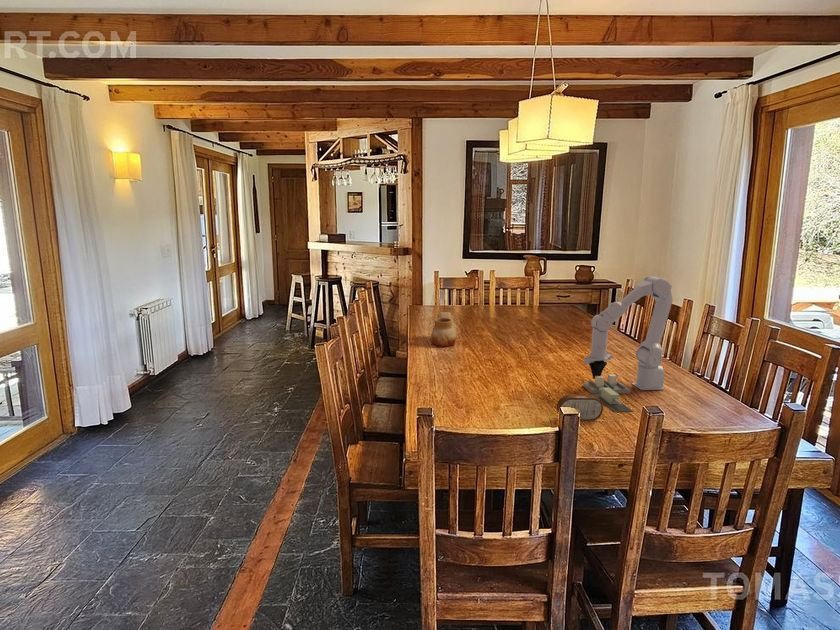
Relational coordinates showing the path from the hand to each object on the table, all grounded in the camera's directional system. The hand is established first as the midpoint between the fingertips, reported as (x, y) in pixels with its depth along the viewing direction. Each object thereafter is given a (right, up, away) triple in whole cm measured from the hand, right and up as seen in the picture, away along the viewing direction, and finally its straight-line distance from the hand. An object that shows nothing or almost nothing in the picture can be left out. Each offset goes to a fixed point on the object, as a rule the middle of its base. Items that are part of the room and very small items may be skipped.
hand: (596, 378), depth 204 cm
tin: (-17, -10, -33) cm, 38 cm away
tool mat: (0, -7, -17) cm, 18 cm away
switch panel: (+3, -4, -2) cm, 5 cm away
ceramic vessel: (-57, +11, +71) cm, 92 cm away
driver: (0, -7, -17) cm, 18 cm away
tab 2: (+6, -2, 0) cm, 6 cm away
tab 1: (0, -2, -2) cm, 3 cm away
